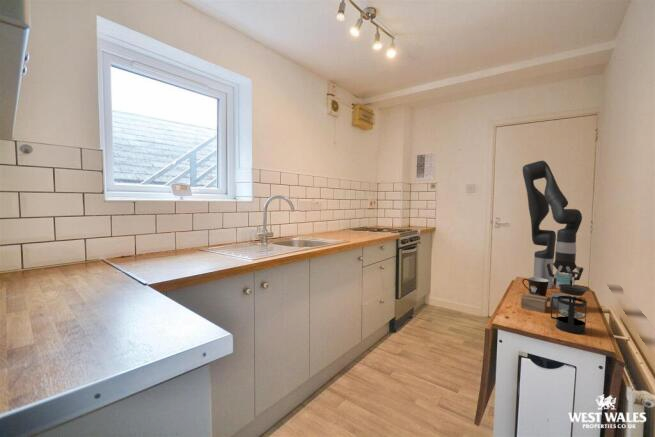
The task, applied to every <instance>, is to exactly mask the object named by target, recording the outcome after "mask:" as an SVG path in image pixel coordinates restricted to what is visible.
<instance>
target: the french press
mask: <svg viewBox="0 0 655 437" xmlns="http://www.w3.org/2000/svg"><path fill="white" fill-rule="evenodd" d="M568 273H570V274H572V277H573V282H572V285H570V284H560V285H558V286H559V287H560V289H559V292H560V293H561V294H564V295H569V296H558V297H554V296H552V302H551V308H550V319H552V320H555V321H556V322H555V327H556V328H557V329H558V330H560V331H562V332H565V333H569V334H573V335H585V334H586V333H587V330H586V326H587V312H588V311H587V307H588V301H587V300H585V299H583V298H580V297H582V296H584V295H585V293H586V292H588V290H589V289H588V288H587V287H584V286H581V285H577V284H575V281H574V277H576V275H578V274H580V273H579V272H578V271H575V270H573V271H568V272H567V273H566V274H568ZM571 296H572V297H571ZM573 296H575V297H573ZM553 298H555V299H558V302H560V303H563V304H566V305H569V310H566V309H561V310H560V309H558V302H557V309H556V316H553V308H552V307H553ZM561 299H569V302H568V301H564V300H561ZM575 301H576V303H575ZM578 302H579V303H578ZM575 306H576V307H577V308H578V307H579V308H583V307H585V310H584V311H585V312H584V313H582V312H579V311H576V308H575ZM559 314H560V315H559ZM582 319H584V321H583V320H582Z"/></svg>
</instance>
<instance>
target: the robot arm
mask: <svg viewBox="0 0 655 437" xmlns="http://www.w3.org/2000/svg"><path fill="white" fill-rule="evenodd" d="M522 176H523V181H524V184H525V190H526V194H527V195H526V196H527V203H528V212H529V217H530V225H531V226H530V228H531V239H532V243H533V245H536V246H543V247H544V246H545V247H546V248H545V249H542V250H538V251H535V252H534V255H533V256H534V257H533V258H534V259H533V260H534V262H533V277H537V278H543V279H547V280H549V282H548V287H547V290H549V289H550V290H551V289H553V285H554V286H555V287H556V278H557V275H558V274H559V273H562V274H569V276H570V277H571V281H570V285H572V282H573V277H572V274H570V273H567V272H568V271H575V270H576V272H578V273H580V274H576V276H575V277H574V282H575V281H580V280H581V277H582V274H583V271H584V267H582V266H581V267H580V266H578V265H577V264H576V257H577V232H578V231H579V229H580V227H581V224H582V221H583V215H582V213H581V211H580V210H579V209H576V208H566V207H567V206H568V204H569V202H568V199H567V198H566V196H565V195H564V193H563V192H562V191H561V189H560V187H559V185H558V183H557V181H556V179H555V176H554V174H553V172H552V170H551V168H550V165H549V164H548V163H547V162H546V161H545V160H538V161H534V162H532V163H531V162H529V163H527V164H524V165H523V166H522ZM541 179H545V181H546V185H545V188H544V193H542V192H541V190H539V189H538V188H537V187H536V186H535V182H534V181H536V180H541ZM550 209H551V214H552V219H553V220H554V221H555V223H557V224H559V225H565V226H564V228H560V229H558V230H557V233H556V231H554V230H551V229H550V230H548V229H540V225H541V224H542V221H544V219H545V218H546V217H547V215H548V214H549V212H550ZM554 268H555V269H556V271H555V273H554Z"/></svg>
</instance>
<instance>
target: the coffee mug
mask: <svg viewBox="0 0 655 437" xmlns="http://www.w3.org/2000/svg"><path fill="white" fill-rule="evenodd" d="M525 280H526V281H528V287H527V285H525V283H524V281H525ZM548 282H549V280H547V279H543V278H537V277H532V276H531V277H528V278H523V279H522V281H521V283H522V285H523V286H524V288H526V289H527V290H528V291H529V294H533V295H538V296H544V297H547V296H546V295H547V293H548V292H547V291H548V289H547V287H548Z"/></svg>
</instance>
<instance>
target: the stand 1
mask: <svg viewBox="0 0 655 437" xmlns="http://www.w3.org/2000/svg"><path fill="white" fill-rule="evenodd" d="M548 298H549V297H548V296H546V297H544V296H538V295H533V294H530V293H527V292H525V293H524V294H523V295H522V296H521V298H520V300H521V301H520V302H521V303H520V308H521V309H525V310H530V311H534V312H539V313H545V312H546V310H547V308H548Z"/></svg>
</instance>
